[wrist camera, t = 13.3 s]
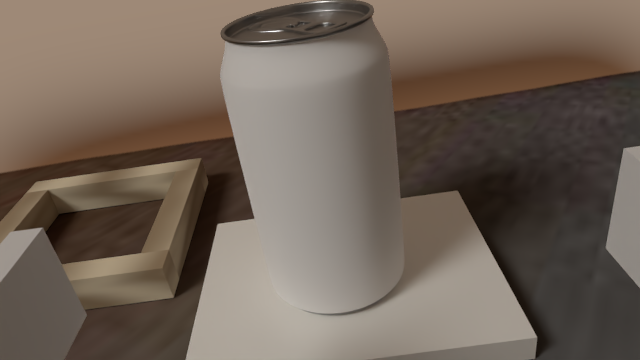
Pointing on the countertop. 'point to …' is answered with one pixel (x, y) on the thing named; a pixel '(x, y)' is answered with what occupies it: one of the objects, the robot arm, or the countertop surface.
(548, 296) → the countertop surface
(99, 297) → the holder
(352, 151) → the can
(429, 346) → the trivet
